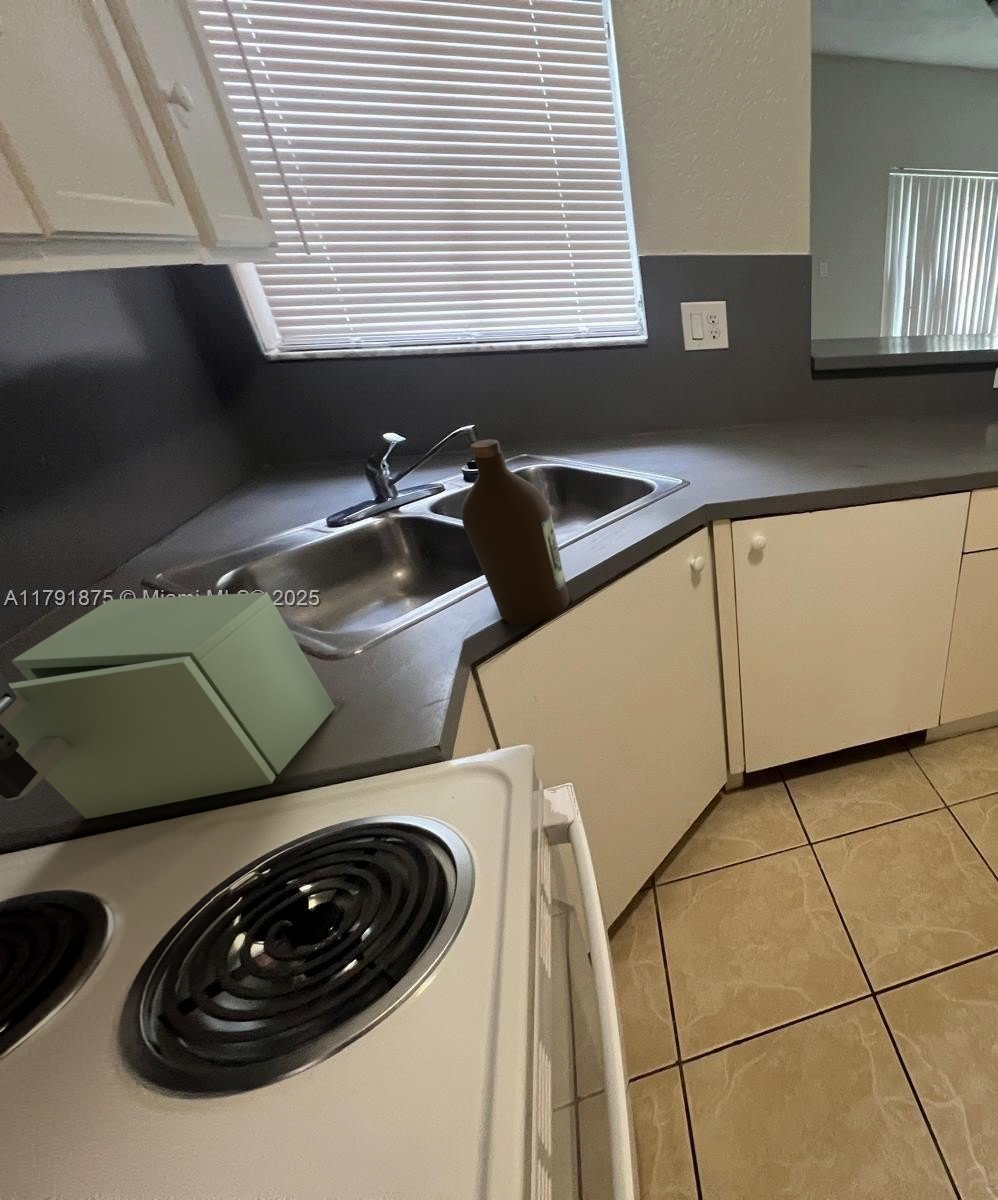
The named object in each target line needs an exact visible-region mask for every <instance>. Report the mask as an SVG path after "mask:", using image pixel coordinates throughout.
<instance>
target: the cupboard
mask: <svg viewBox="0 0 998 1200" xmlns="http://www.w3.org/2000/svg"><path fill="white" fill-rule="evenodd" d="M280 613H281V612H279V610H278V608H277V606H276V604H275V603H274V602H273V600H272V598H271V597H270V595H269V594H268V592H251V593H250V592H249V593H248V592H247V593H230V594H209V595H208V594H207V595H187V596H186V595H185V596H164V597H141V598H121V599H119V598H118V599H109V600H107V601H105V602H104V603H102V604H100V605H98V606H97V607H95V608H94V609H93V610H91V611H89V612H88V613H86V614H84V615H83V616H81V617H80V618H77V619H76V620H74V621H73V622H71V623H70V624H68V625H66V626H65V627H63V628H62V629H59V630H58V631H57V632H55V633H53V634H52V635H50V636H49V637H47V638H45V639H43V640H42V641H41V642H38V643H37V644H36V645H34V646H33V647H31V648H29V649H28V650H26V651H24V652H23V653H21V654H20V655H18V656H16V657H14V658H13V659H11V661H10V662H11V663H12V664H13V665H14V666H15V667H16V668H17V670H18V671H19V672H20V673H21V674H22V675H23V676H24V677H25V679H26V680H27V681H28V680H35V679H41V678H48V677H55V676H61V675H68V674H74V673H81V672H87V671H94V670H100V669H107V668H113V667H120V666H126V665H133V664H139V663H146V662H152V661H159V660H165V659H172V658H179V657H185V656H190V658H191V659H192V661H193V662H194V663H195V665H196V666H197V668H198V669H199V670H200V672H201V673H202V675H203V676H204V677H205V679H206V680H207V681H208V683H209V684H210V686H211V687H212V688H213V690H214V691H215V693H216V694H217V695H218V697H219V698H220V700H221V701H222V702H223V704H224V705H225V707H226V708H227V709H228V711H229V712H230V713H231V715H232V716H233V718H234V719H235V720H236V722H237V723H238V725H239V726H240V727H241V729H242V730H243V732H244V733H245V734H246V736H247V737H248V739H249V740H250V741H251V743H252V744H253V745H254V747H255V748H256V750H257V751H258V752H259V754H260V755H261V757H262V758H263V759H264V761H265V762H266V764H267V765H268V766H269V768H270V769H271V770H272V772H273V773H274V775H280V773H282V771H283V770H284V769H285V768H286V766H287V765H288V764H289V763H290V762H291V761H292V760H293V758H294V757H295V756H296V755H297V754H298V752H299V751H300V750H301V749H302V747H303V746H304V745H305V744H306V743H307V742H308V740H309V739H310V738H311V737H312V736H313V735H314V733H316V731H317V730H318V729H319V728H320V726H321V725H322V724H323V723H324V722H325V720H326V719H327V718H328V717H329V716H330V714H331V713H332V712H333V711H334V710H335V709H336V706H335V705H334V703H333V701H332V699H331V698H330V696H329V694H328V693H327V691H326V689H325V688H324V686H323V684H322V683H321V680H320V679H319V677H318V675H317V674H316V672H315V671H314V669H313V668H312V665H311V664H310V662H309V661H308V659H307V658H306V656H305V654H304V651H302V649H301V646H300V645H299V643H298V642H297V640H296V638H295V637H294V635H293V633H292V632H291V630H290V628H289V627H288V625H287V623H286V622H285V620H284V618H283V617H282V615H281V614H280Z"/></svg>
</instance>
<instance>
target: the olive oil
mask: <svg viewBox="0 0 998 1200" xmlns="http://www.w3.org/2000/svg"><path fill="white" fill-rule="evenodd" d="M500 447H501V446H500V443H499V441H498V440H497V439H483V440H478V441H475V442H473V443H471V445H470V448H471V451H472V453H473V460H474V463H475V466H476V469H477V472H478V476H477V477H476V480H475V481H474V482H473V484H472V486H471V488H470V489H469V491H468V492H467V494H466V496H465V498H464V499H463V502H462V506H461V520H462V521H461V522H462V526H463V528H464V531H465V533H466V536H467V538H468V540H469V543H470V545H471V547H472V549H473V553H474V554H475V556H476V559H477V561H478V563H479V566H480V568H481V570H482V573H483V576H484V578H485V580H486V582H487V585H488V587H489V591H490V592H491V594H492V597H493V599H494V602H495V605H496V607H497V610H498V612H499V615H500V617H501V619H502V620H503V621H505V623H509V624H512V625H520V626H521V625H522V626H523V625H533V624H537V623H541V622H544V621H547V620H550V619H552V618H555V616H557V615H559V614H560V613H562V612H563V611H564V610H565V609H566V608H568V605H569V604H570V594H569V591H568V587H567V582H566V578H565V573H564V569H563V564H562V560H561V555H560V550H559V545H558V542H557V537H556V531H555V525H554V522H553V517H552V512H551V508H550V505H549V503H548V501H547V500H546V498H545V496H544V494H543V493H542V492H541V491H540V489H539V488H538V487H536V486H535V485H534V484H532V483H531V482H529V481H527V480H526V479H524V478H522V477H520V476H519V475H517V474H516V473H514V472H512V471H511V470H509V469H508V467H507V463H506V460H505V456H504V452H503V451H502V450H501V448H500Z"/></svg>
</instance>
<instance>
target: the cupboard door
mask: <svg viewBox="0 0 998 1200" xmlns="http://www.w3.org/2000/svg"><path fill="white" fill-rule="evenodd" d="M8 684H9V686H10V687H11V689H12V690H13V692H14V693H15V695H16V697H17V698H16V700H15V701H14V702H13V703H12V704H11V705H10V706H9V707H8V708H7V709H6V710H5V711H4V712H3V713H2V714H1V715H0V724H1V725H2V726H3V727H4V728H5V729H6V730H7V731H8V732H9V733H10V734H11V735H12V736H13V737H14V738H15V739H16V740H17V741H18V743H19V747H18V748H17V749H16V751H17V752H18V753H19V754H20V755H21V756H22V757H23V758H24V759H25V760H26V761H27V762H28V763H29V764H30V765H31V766H32V767H33V768H34V769H35V770H36V771H37V772H38V773H37V774H36V776H35V777H34V778H33V779H32V780H31V782H30V783H29V784H28V785H27V786H26V788H25V789H24V790H23V791H22V792H21V794H20V795H19V796H18V797H15V798H10V799H5V798H4V797H3V796H1V797H2V798H3V799H4V800H6V801H15V800H19V799H20V798H22V797H25V796H26V795H27V794H29V793H30V792H31V791H32V789H35V787H36V786H37V785H38V784H39V783H40V782H41V781H42V780H43V779H44V780H46V782H47V783H49V784H50V785H51V787H53V788H54V789H55V790H56V791H57V793H59V794H60V795H61V796H62V797H63V798H64V799H65V800H66V801H67V802H68V804H70V805H71V806H72V807H73V808H74V809H75V810H76V811H77V812H78V813H79V814H80V815H81V816H83V818H84V819H85V820H89V819H93V818H98V817H104V816H110V815H115V814H121V813H126V812H131V811H135V810H139V809H145V808H151V807H152V808H153V807H156V806H161V805H167V804H168V805H169V804H173V803H178V802H183V801H188V800H194V799H198V798H204V797H208V796H209V797H210V796H214V795H220V794H225V793H230V792H235V791H236V792H237V791H240V790H246V789H251V788H256V787H260V786H266V785H271V784H273V783H274V781H275V779H276V778H277V776H276V774H274V773H273V772H272V770H271V769H270V768H269V766H268V765H267V764H266V762H265V761H264V759H263V758H262V757H261V755H260V754H259V752H258V751H257V750H256V748H255V747H254V745H253V744H252V743H251V741H250V740H249V739H248V737H247V736H246V734H245V733H244V732H243V730H242V729H241V727H240V726H239V725H238V723H237V722H236V720H235V719H234V718H233V716H232V715H231V713H230V712H229V711H228V709H227V708H226V707H225V705H224V704H223V702H222V701H221V700H220V698H219V697H218V695H217V694H216V693H215V691H214V690H213V688H212V687H211V686H210V684H209V683H208V681H207V680H206V679H205V677H204V676H203V675H202V673H201V672H200V670H199V669H198V668H197V666H196V665H195V663H194V662H193V661H192V659H191V658H190V656H185V657H179V658H172V659H165V660H159V661H152V662H146V663H139V664H133V665H126V666H120V667H113V668H107V669H100V670H94V671H87V672H81V673H74V674H68V675H61V676H55V677H48V678H41V679H35V680H28V679H27V680H22V681H17V682H15V681H14V682H9V683H8Z"/></svg>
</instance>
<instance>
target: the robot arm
mask: <svg viewBox="0 0 998 1200" xmlns="http://www.w3.org/2000/svg"><path fill="white" fill-rule="evenodd" d="M16 698H17V697H16V695H15V693H14V692H13V690H12V689H11V687H10V686H9V683H8V681H7V680H6V678H5V677H4V675H3V673H2V672H1V671H0V715H1V714H2V713H3V712H4V711H5V710H6V709H7V708H8V707H9V706H10V705H11V704H12V703H13V702H14V701H15V700H16ZM18 747H19V743H18V741H17V740H16V739H15V738H14V737H13V736H12V735H11V734H10V733H9V732H8V731H7V730H6V729H5V728H4V727H3V726H2V725H1V724H0V797H2V796H3V797H4V798H5V799H10V798H15V797H18V796H19V795H20V794H21V792H22V791H23V790H24V789H25V788H26V786H27V785H28V784H29V783H30V782H31V780H32V779H33V778H34V777H35V776H36V774H37V773H38V772H37V771H36V770H35V769H34V768H33V767H32V766H31V765H30V764H29V763H28V762H27V761H26V760H25V759H24V758H23V757H22V756H21V755H20V754H19V753H18V752H17V751H16V749H17V748H18ZM3 797H2V798H3ZM4 798H3V799H4ZM5 799H4V800H5Z"/></svg>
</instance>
